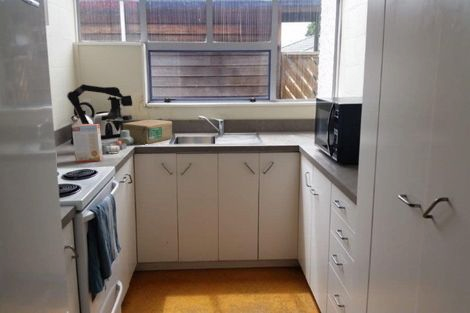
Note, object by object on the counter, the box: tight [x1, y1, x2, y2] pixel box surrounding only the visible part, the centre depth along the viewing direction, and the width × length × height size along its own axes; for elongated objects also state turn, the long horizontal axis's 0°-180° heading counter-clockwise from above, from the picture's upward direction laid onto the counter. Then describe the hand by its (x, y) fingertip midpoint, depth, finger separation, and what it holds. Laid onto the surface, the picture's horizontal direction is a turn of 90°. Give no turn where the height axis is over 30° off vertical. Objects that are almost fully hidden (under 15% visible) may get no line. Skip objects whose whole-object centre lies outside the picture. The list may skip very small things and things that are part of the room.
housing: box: [101, 142, 111, 155], centre depth 259 cm, size 6×8×6 cm
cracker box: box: [71, 123, 104, 163], centre depth 236 cm, size 14×6×21 cm, turn 92°
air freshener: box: [116, 130, 134, 147], centre depth 285 cm, size 11×8×10 cm
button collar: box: [111, 143, 127, 151], centre depth 271 cm, size 7×7×3 cm
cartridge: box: [106, 145, 121, 153], centre depth 259 cm, size 12×4×4 cm, turn 81°
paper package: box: [122, 118, 173, 145], centre depth 301 cm, size 27×26×14 cm
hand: (117, 131), depth 269 cm, fingers closed
